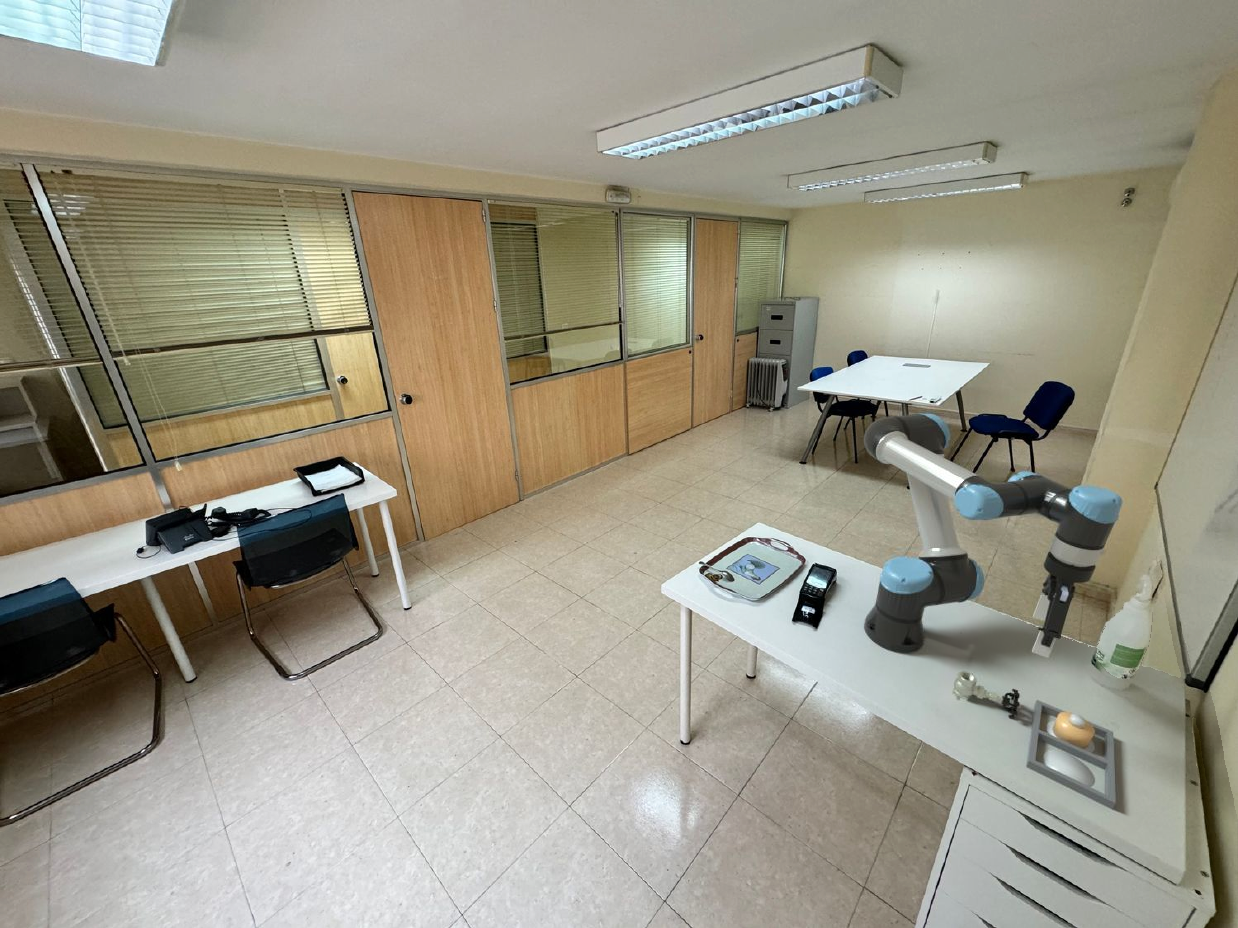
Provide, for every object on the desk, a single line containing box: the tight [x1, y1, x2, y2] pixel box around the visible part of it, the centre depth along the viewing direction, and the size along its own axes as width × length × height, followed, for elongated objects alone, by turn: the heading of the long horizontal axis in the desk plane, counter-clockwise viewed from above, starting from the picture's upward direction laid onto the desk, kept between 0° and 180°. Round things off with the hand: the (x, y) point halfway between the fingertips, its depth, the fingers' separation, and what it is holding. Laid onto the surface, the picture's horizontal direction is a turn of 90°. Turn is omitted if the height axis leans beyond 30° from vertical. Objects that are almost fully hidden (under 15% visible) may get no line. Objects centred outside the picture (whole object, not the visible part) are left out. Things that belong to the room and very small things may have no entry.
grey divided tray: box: [1025, 699, 1117, 810], centre depth 103 cm, size 13×20×3 cm, turn 137°
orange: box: [1053, 711, 1095, 749], centre depth 105 cm, size 6×6×6 cm
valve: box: [952, 670, 1021, 720], centre depth 114 cm, size 7×7×12 cm
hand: (1040, 635), depth 108 cm, fingers open, 13 cm apart
